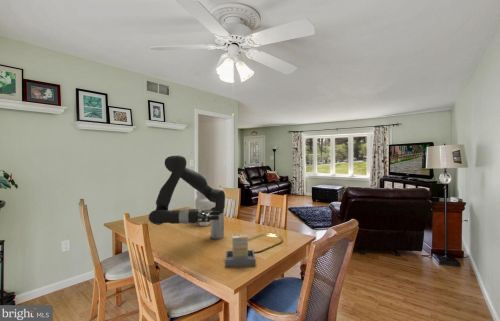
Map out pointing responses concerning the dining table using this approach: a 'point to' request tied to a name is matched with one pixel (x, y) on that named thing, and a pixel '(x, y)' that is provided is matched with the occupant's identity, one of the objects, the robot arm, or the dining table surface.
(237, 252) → the supplement box
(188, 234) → the dining table surface
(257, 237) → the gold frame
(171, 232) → the dining table surface
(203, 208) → the vase
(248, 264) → the organiser tray
